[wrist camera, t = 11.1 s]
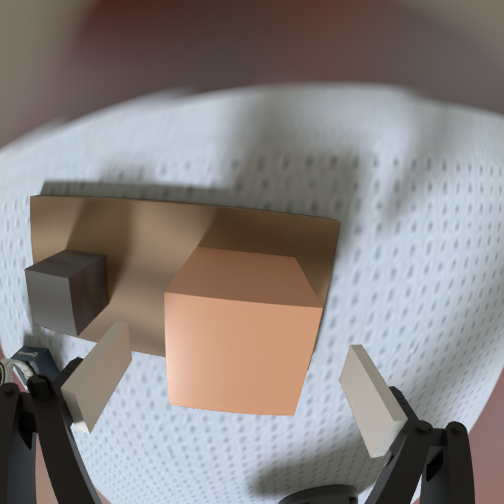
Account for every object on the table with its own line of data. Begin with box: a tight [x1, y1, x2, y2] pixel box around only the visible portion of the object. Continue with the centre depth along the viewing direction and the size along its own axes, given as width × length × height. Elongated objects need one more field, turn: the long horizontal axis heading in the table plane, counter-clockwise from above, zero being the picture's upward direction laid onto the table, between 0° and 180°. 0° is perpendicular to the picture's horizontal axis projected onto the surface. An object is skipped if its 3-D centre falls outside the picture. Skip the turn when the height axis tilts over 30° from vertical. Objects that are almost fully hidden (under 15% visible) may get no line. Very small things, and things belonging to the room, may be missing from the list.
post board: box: [25, 195, 340, 369], centre depth 20 cm, size 14×28×8 cm, turn 84°
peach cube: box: [164, 247, 323, 415], centre depth 18 cm, size 8×8×9 cm
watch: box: [0, 347, 60, 393], centre depth 21 cm, size 6×8×11 cm
